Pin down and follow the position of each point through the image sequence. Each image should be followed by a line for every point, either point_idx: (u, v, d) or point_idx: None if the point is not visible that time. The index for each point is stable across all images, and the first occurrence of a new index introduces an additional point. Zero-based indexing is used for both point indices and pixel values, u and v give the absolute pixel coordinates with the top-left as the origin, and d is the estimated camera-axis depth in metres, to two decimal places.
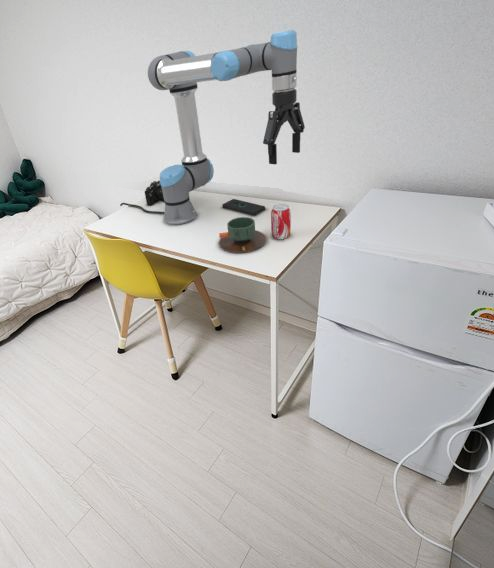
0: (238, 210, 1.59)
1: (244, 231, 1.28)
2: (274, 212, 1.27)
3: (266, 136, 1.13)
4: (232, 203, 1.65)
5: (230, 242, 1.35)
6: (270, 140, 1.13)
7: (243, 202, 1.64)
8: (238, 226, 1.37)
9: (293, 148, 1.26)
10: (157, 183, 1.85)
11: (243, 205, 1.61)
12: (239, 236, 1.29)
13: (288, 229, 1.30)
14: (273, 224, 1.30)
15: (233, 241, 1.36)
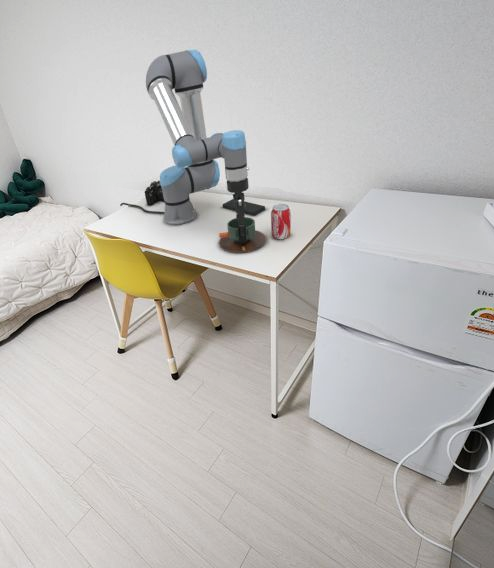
0: None
1: None
2: (274, 212, 1.27)
3: (240, 221, 1.22)
4: (232, 203, 1.65)
5: (230, 242, 1.35)
6: (245, 224, 1.23)
7: None
8: None
9: None
10: (157, 183, 1.85)
11: None
12: None
13: (288, 229, 1.30)
14: (273, 224, 1.30)
15: (233, 241, 1.36)
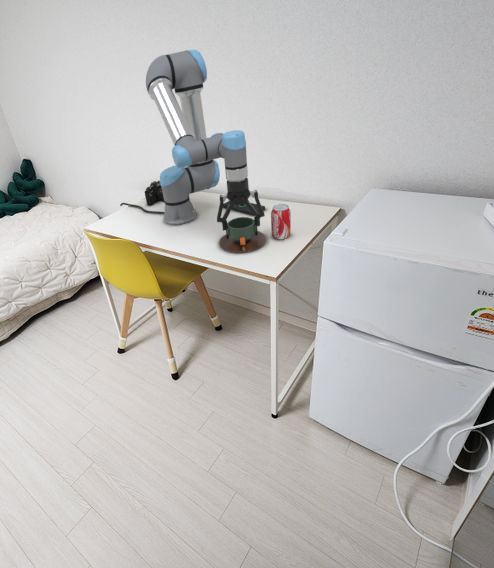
0: (238, 210, 1.59)
1: None
2: (274, 212, 1.27)
3: (262, 209, 1.28)
4: None
5: (230, 242, 1.35)
6: None
7: None
8: None
9: None
10: (157, 183, 1.85)
11: (243, 205, 1.61)
12: None
13: (288, 229, 1.30)
14: (273, 224, 1.30)
15: (233, 241, 1.36)
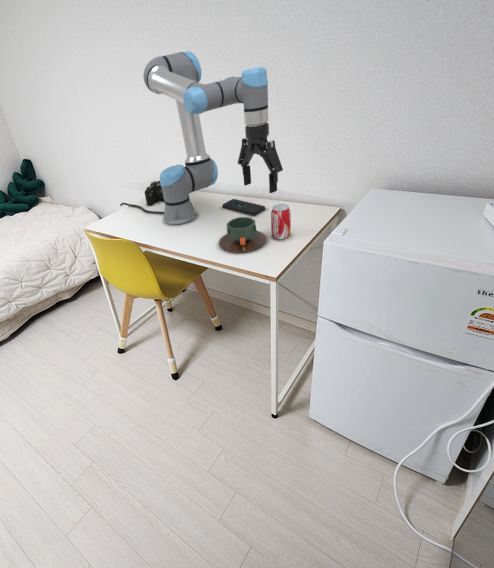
0: (238, 210, 1.59)
1: None
2: (274, 212, 1.27)
3: (277, 164, 1.11)
4: (232, 203, 1.65)
5: (230, 242, 1.35)
6: None
7: (243, 202, 1.64)
8: None
9: (246, 181, 1.28)
10: (157, 183, 1.85)
11: (243, 205, 1.61)
12: None
13: (288, 229, 1.30)
14: (273, 224, 1.30)
15: (233, 241, 1.36)
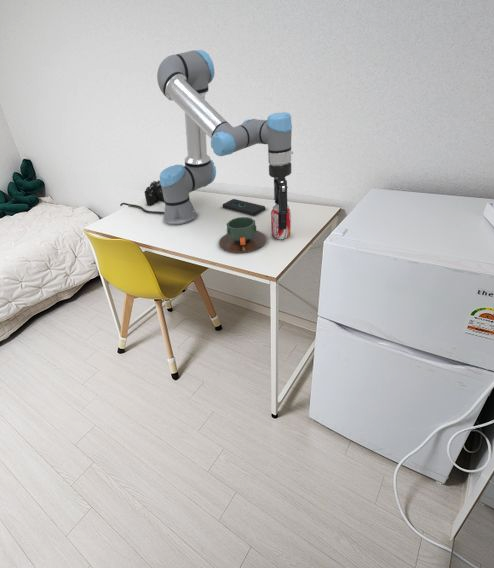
0: (238, 210, 1.59)
1: None
2: (274, 212, 1.27)
3: (282, 208, 1.21)
4: (232, 203, 1.65)
5: (230, 242, 1.35)
6: None
7: (243, 202, 1.64)
8: None
9: None
10: (157, 183, 1.85)
11: (243, 205, 1.61)
12: None
13: (288, 229, 1.30)
14: (273, 224, 1.30)
15: (233, 241, 1.36)
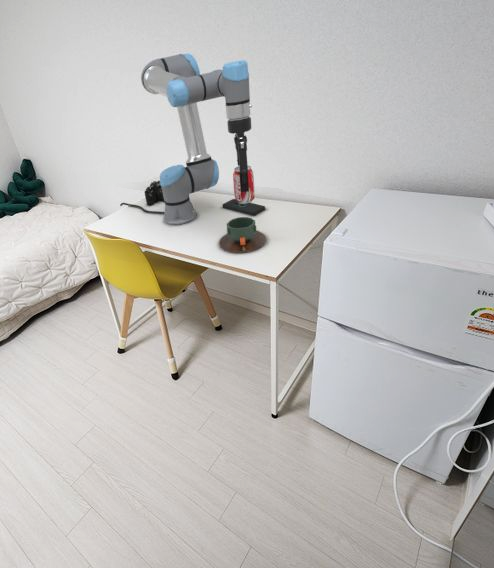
0: (238, 210, 1.59)
1: None
2: (235, 173, 1.20)
3: (242, 166, 1.13)
4: (232, 203, 1.65)
5: (230, 242, 1.35)
6: (247, 169, 1.14)
7: None
8: None
9: None
10: (157, 183, 1.85)
11: (243, 205, 1.61)
12: None
13: (251, 192, 1.22)
14: (235, 187, 1.22)
15: (233, 241, 1.36)
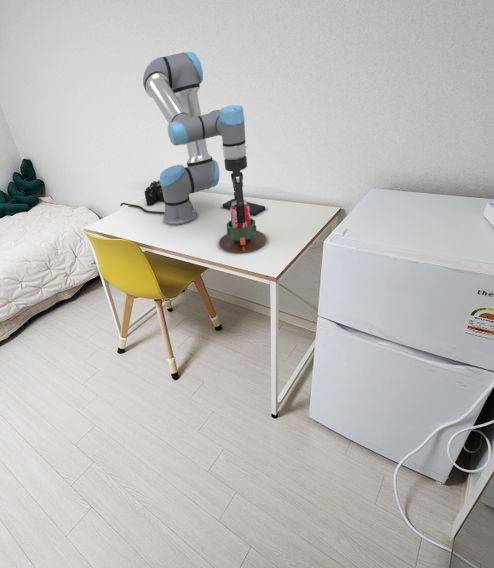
0: None
1: None
2: (232, 208, 1.26)
3: (238, 199, 1.17)
4: None
5: (230, 242, 1.35)
6: (243, 202, 1.17)
7: None
8: None
9: None
10: (157, 183, 1.85)
11: None
12: None
13: (247, 225, 1.29)
14: (232, 220, 1.29)
15: (233, 241, 1.36)
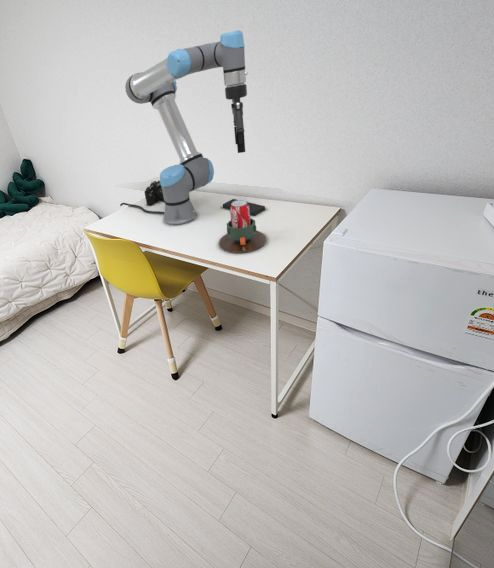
0: None
1: None
2: (232, 208, 1.26)
3: (239, 126, 1.21)
4: None
5: (230, 242, 1.35)
6: (243, 128, 1.21)
7: None
8: None
9: (236, 140, 1.38)
10: (157, 183, 1.85)
11: None
12: None
13: (247, 225, 1.29)
14: (232, 220, 1.29)
15: (233, 241, 1.36)
